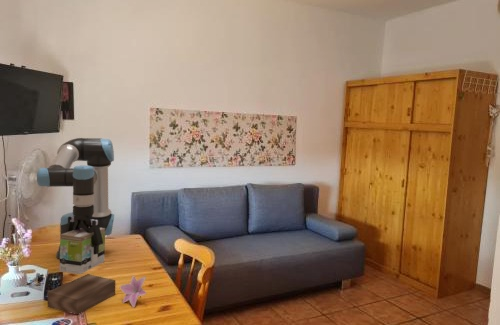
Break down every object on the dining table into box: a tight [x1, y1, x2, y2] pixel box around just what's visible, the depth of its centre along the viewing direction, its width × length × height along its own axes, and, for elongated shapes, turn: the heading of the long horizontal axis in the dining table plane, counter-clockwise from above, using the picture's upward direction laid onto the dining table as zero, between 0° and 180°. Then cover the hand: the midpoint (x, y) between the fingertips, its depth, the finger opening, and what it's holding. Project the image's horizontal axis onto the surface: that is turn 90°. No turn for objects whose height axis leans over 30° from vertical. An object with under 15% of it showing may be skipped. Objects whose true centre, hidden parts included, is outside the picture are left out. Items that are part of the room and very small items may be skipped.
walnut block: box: [47, 273, 116, 315], centre depth 148 cm, size 15×20×6 cm
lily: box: [119, 275, 147, 308], centre depth 150 cm, size 12×12×10 cm
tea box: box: [58, 227, 106, 275], centre depth 147 cm, size 15×10×15 cm, turn 168°
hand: (83, 259), depth 147 cm, fingers closed on tea box, 11 cm apart
